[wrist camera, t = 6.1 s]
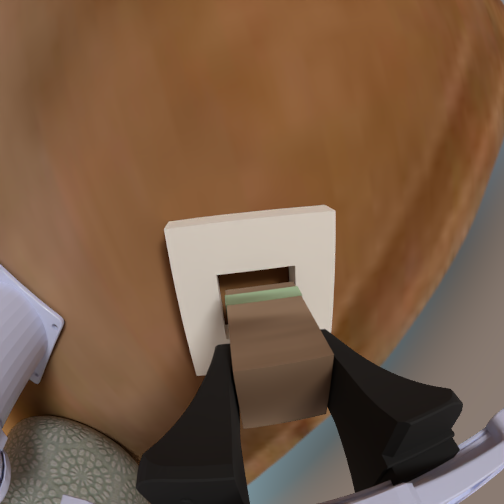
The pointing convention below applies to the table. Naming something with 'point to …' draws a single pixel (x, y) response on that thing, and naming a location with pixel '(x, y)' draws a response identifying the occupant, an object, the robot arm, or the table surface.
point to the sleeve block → (248, 265)
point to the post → (277, 355)
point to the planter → (67, 464)
